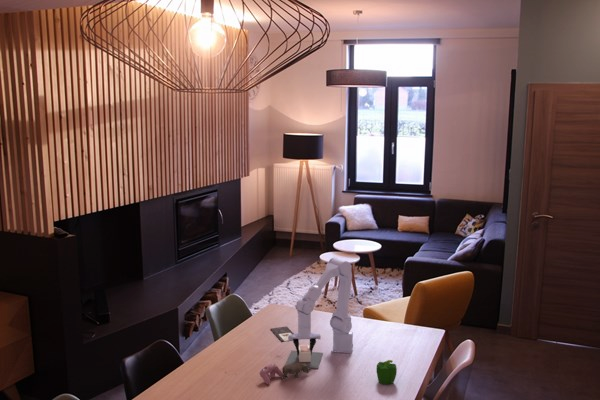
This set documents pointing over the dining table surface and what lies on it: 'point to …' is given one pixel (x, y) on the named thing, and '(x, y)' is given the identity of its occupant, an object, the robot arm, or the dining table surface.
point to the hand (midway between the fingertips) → (304, 354)
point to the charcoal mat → (314, 362)
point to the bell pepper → (386, 372)
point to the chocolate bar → (282, 333)
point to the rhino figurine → (294, 369)
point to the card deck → (304, 353)
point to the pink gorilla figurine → (272, 370)
